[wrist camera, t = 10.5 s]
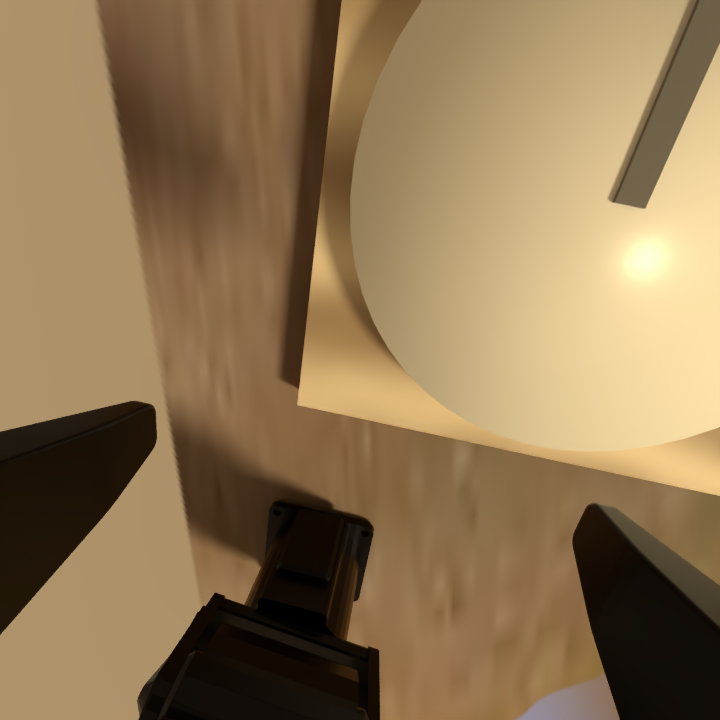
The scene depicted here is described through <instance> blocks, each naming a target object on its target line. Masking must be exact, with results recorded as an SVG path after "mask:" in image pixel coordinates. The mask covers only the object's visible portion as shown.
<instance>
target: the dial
mask: <svg viewBox="0 0 720 720" xmlns="http://www.w3.org/2000/svg"><path fill="white" fill-rule="evenodd" d="M350 232H351V240H352V247H353V255H354V263H355V267H356V271H357V275H358V279H359V283H360V287H361V291H362V294H363V297H364V300H365V302H366V305H367V307H368V310H369V312H370V315H371V317H372V320H373V322H374V324H375V326H376V328H377V329H378V331H379V333H380V335H381V337H382V338H383V340H384V342H385V344H386V345H387V347H388V349H389V350H390V352H391V353H392V354H393V356H394V357H395V358H396V360H397V361H398V362H399V364H400V365H401V366H402V368H403V369H404V370H405V372H406V373H407V374H408V375H409V376H410V377H411V378H412V379H413V380H414V381H415V382H416V383H417V384H418V385H419V386H420V387H421V388H422V389H423V390H424V391H425V392H426V393H428V394H429V395H430V396H431V397H433V398H434V399H435V400H436V401H438V402H439V403H440V404H442V405H443V406H444V407H445V408H447V409H448V410H450V411H451V412H453V413H455V414H456V415H458V416H460V417H461V418H463V419H465V420H466V421H468V422H470V423H472V424H474V425H476V426H478V427H481V428H483V429H485V430H487V431H490V432H492V433H494V434H496V435H499V436H502V437H506V438H509V439H512V440H515V441H518V442H522V443H525V444H530V445H536V446H541V447H546V448H551V449H560V450H572V451H618V450H626V449H634V448H643V447H650V446H655V445H659V444H664V443H668V442H672V441H677V440H681V439H685V438H688V437H691V436H694V435H697V434H700V433H704V432H707V431H710V430H713V429H716V428H719V427H720V0H422V1H421V3H420V4H419V6H418V7H417V9H416V10H415V12H414V14H413V15H412V17H411V18H410V20H409V21H408V23H407V25H406V26H405V28H404V29H403V31H402V33H401V34H400V36H399V37H398V39H397V41H396V43H395V45H394V47H393V49H392V51H391V53H390V55H389V57H388V60H387V62H386V64H385V66H384V68H383V70H382V72H381V74H380V76H379V78H378V80H377V83H376V86H375V89H374V92H373V94H372V97H371V100H370V103H369V106H368V108H367V111H366V114H365V117H364V120H363V124H362V128H361V133H360V137H359V141H358V145H357V150H356V154H355V158H354V167H353V176H352V185H351V193H350Z"/></svg>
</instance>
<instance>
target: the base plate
mask: <svg viewBox="0 0 720 720" xmlns="http://www.w3.org/2000/svg"><path fill="white" fill-rule="evenodd" d="M421 1H422V0H342V3H341V12H340V21H339V30H338V39H337V48H336V57H335V67H334V76H333V85H332V94H331V103H330V112H329V121H328V131H327V140H326V149H325V158H324V167H323V176H322V185H321V195H320V204H319V213H318V222H317V231H316V240H315V249H314V258H313V268H312V277H311V286H310V295H309V304H308V313H307V322H306V332H305V341H304V350H303V359H302V368H301V377H300V386H299V396H298V405H300V406H305V407H309V408H314V409H319V410H323V411H328V412H333V413H337V414H342V415H347V416H351V417H356V418H360V419H365V420H370V421H374V422H379V423H384V424H388V425H393V426H398V427H402V428H407V429H412V430H416V431H421V432H426V433H430V434H435V435H440V436H444V437H449V438H453V439H458V440H463V441H467V442H472V443H477V444H481V445H486V446H491V447H495V448H500V449H505V450H509V451H514V452H519V453H523V454H528V455H533V456H537V457H542V458H546V459H551V460H556V461H560V462H565V463H570V464H574V465H579V466H584V467H588V468H593V469H598V470H602V471H607V472H612V473H616V474H621V475H626V476H630V477H635V478H639V479H644V480H649V481H653V482H658V483H663V484H667V485H672V486H677V487H681V488H686V489H691V490H695V491H700V492H705V493H709V494H714V495H719V496H720V427H719V428H716V429H713V430H710V431H707V432H704V433H700V434H697V435H694V436H691V437H688V438H685V439H681V440H677V441H672V442H668V443H664V444H659V445H655V446H650V447H643V448H634V449H626V450H618V451H572V450H560V449H551V448H546V447H541V446H536V445H530V444H525V443H522V442H518V441H515V440H512V439H509V438H506V437H502V436H499V435H496V434H494V433H492V432H490V431H487V430H485V429H483V428H481V427H478V426H476V425H474V424H472V423H470V422H468V421H466V420H465V419H463V418H461V417H460V416H458V415H456V414H455V413H453V412H451V411H450V410H448V409H447V408H445V407H444V406H443V405H442V404H440V403H439V402H438V401H436V400H435V399H434V398H433V397H431V396H430V395H429V394H428V393H426V392H425V391H424V390H423V389H422V388H421V387H420V386H419V385H418V384H417V383H416V382H415V381H414V380H413V379H412V378H411V377H410V376H409V375H408V374H407V373H406V372H405V370H404V369H403V368H402V366H401V365H400V364H399V362H398V361H397V360H396V358H395V357H394V356H393V354H392V353H391V352H390V350H389V349H388V347H387V345H386V344H385V342H384V340H383V338H382V337H381V335H380V333H379V331H378V329H377V328H376V326H375V324H374V322H373V320H372V317H371V315H370V312H369V310H368V307H367V305H366V302H365V300H364V297H363V294H362V291H361V287H360V283H359V279H358V275H357V271H356V267H355V263H354V255H353V247H352V240H351V232H350V193H351V185H352V176H353V167H354V158H355V154H356V150H357V145H358V141H359V137H360V133H361V128H362V124H363V120H364V117H365V114H366V111H367V108H368V106H369V103H370V100H371V97H372V94H373V92H374V89H375V86H376V83H377V80H378V78H379V76H380V74H381V72H382V70H383V68H384V66H385V64H386V62H387V60H388V57H389V55H390V53H391V51H392V49H393V47H394V45H395V43H396V41H397V39H398V37H399V36H400V34H401V33H402V31H403V29H404V28H405V26H406V25H407V23H408V21H409V20H410V18H411V17H412V15H413V14H414V12H415V10H416V9H417V7H418V6H419V4H420V3H421Z"/></svg>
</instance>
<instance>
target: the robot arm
mask: <svg viewBox="0 0 720 720" xmlns="http://www.w3.org/2000/svg"><path fill="white" fill-rule="evenodd" d="M156 440H157V430H156V411H155V408H154V406H152V405H151V404H147V403H143V402H138V401H130V402H126V403H122V404H118V405H113V406H108V407H104V408H100V409H96V410H92V411H87V412H83V413H79V414H75V415H70V416H66V417H62V418H58V419H53V420H49V421H44V422H41V423H36V424H32V425H27V426H23V427H19V428H15V429H10V430H6V431H2V432H0V634H1V633H2V632H3V631H4V630H5V629H6V628H7V626H8V625H9V624H10V623H11V622H12V621H13V620H14V618H15V617H16V616H17V615H18V614H19V613H20V612H21V610H22V609H23V608H24V607H25V606H26V605H27V604H28V602H29V601H30V600H31V599H32V598H33V597H34V596H35V594H36V593H37V592H38V591H39V590H40V589H41V588H42V586H43V585H44V584H45V583H46V582H47V581H48V579H49V578H50V577H51V576H52V575H53V574H54V573H55V571H56V570H57V569H58V568H59V567H60V566H61V565H62V564H63V562H64V561H65V560H66V559H67V558H68V557H69V555H70V554H71V553H72V552H73V551H74V550H75V549H76V547H77V546H78V545H79V544H80V543H81V541H83V539H84V538H85V537H86V536H87V535H88V534H89V533H90V531H91V530H92V529H93V528H94V527H95V526H96V525H97V523H98V522H99V521H100V520H101V519H102V518H103V516H104V515H105V514H106V513H107V512H108V510H109V509H110V508H111V507H112V505H113V504H114V503H115V501H116V500H117V499H118V497H119V496H120V495H121V493H122V492H123V490H124V489H125V488H126V486H127V484H128V483H129V482H130V481H131V479H132V478H133V476H134V475H135V473H136V472H137V471H138V470H139V468H140V467H141V465H142V464H143V462H144V461H145V460H146V458H147V457H148V456H149V454H150V453H151V451H152V450H153V448H154V446H155V444H156ZM276 509H278V510H280V511H278V510H276ZM363 530H366V531H368V532H365V531H363ZM373 532H374V528H373V526H372V525H371V524H370V523H368V522H364V521H359V520H355V519H351V518H347V517H342V516H338V515H334V514H330V513H325V512H321V511H317V510H313V509H309V508H304V507H300V506H296V505H292V504H287V503H283V502H274V503H273V504H272V506H271V508H270V510H269V521H268V532H267V543H266V555H265V560H264V562H263V564H262V567H261V569H260V571H259V573H258V576H257V578H256V580H255V582H254V584H253V587H252V589H251V591H250V593H249V596H248V598H247V600H246V602H245V604H244V605H243V604H240V603H237V602H234V601H232V600H229V599H226V598H225V596H224V595H221V594H218V593H214V595H213V596H212V598H211V599H210V601H209V602H208V604H207V605H206V606H203V607H202V608H201V610H200V611H199V612H197V614H196V616H195V618H194V619H193V621H192V623H191V625H190V627H189V628H188V629H187V631H186V633H185V634H184V635H183V637H182V638H181V640H180V641H179V643H178V644H177V646H176V647H175V649H174V650H173V652H172V653H171V655H170V656H169V657H168V658H167V659H166V661H165V662H164V663H163V664H162V665H161V666H160V668H159V669H158V670H157V671H156V672H155V674H153V676H152V677H151V678H150V679H149V680H148V681H147V683H146V684H145V685H144V687H143V688H142V690H141V692H140V695H139V697H138V700H137V703H138V710H139V715H140V718H139V720H380V685H379V650H378V649H375V648H372V647H369V646H368V648H366V647H363V646H360V645H357V644H354V643H351V642H349V641H346V640H347V635H348V629H349V623H350V617H351V612H352V606H353V601H357V600H358V598H359V595H360V590H361V586H362V582H363V577H364V573H365V568H366V564H367V559H368V555H369V551H370V546H371V542H372V537H373ZM573 550H574V554H575V559H576V563H577V568H578V573H579V577H580V582H581V587H582V591H583V596H584V600H585V605H586V610H587V614H588V618H589V622H590V626H591V630H592V633H593V637H594V640H595V643H596V646H597V649H598V653H599V656H600V659H601V662H602V665H603V668H604V671H605V674H606V677H607V681H608V683H609V687H610V690H611V693H612V696H613V699H614V702H615V705H616V709H617V712H618V715H619V718H620V720H720V586H719V585H718V584H717V583H715V582H714V581H713V580H711V579H710V578H709V577H707V576H706V575H705V574H703V573H702V572H701V571H699V570H698V569H697V568H695V567H694V566H693V565H691V564H690V563H689V562H687V561H686V560H685V559H683V558H682V557H681V556H679V555H678V554H677V553H675V552H674V551H673V550H671V549H670V548H669V547H667V546H666V545H665V544H663V543H662V542H661V541H659V540H658V539H657V538H655V537H654V536H653V535H651V534H650V533H649V532H647V531H646V530H645V529H643V528H642V527H641V526H639V525H638V524H637V523H635V522H634V521H633V520H631V519H630V518H629V517H627V516H626V515H625V514H623V513H622V512H621V511H619V510H618V509H617V508H615V507H612V506H608V505H604V504H599V503H590V504H589V505H588V506H587V507H586V509H585V511H584V513H583V515H582V517H581V519H580V521H579V523H578V525H577V527H576V529H575V531H574V534H573Z"/></svg>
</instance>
